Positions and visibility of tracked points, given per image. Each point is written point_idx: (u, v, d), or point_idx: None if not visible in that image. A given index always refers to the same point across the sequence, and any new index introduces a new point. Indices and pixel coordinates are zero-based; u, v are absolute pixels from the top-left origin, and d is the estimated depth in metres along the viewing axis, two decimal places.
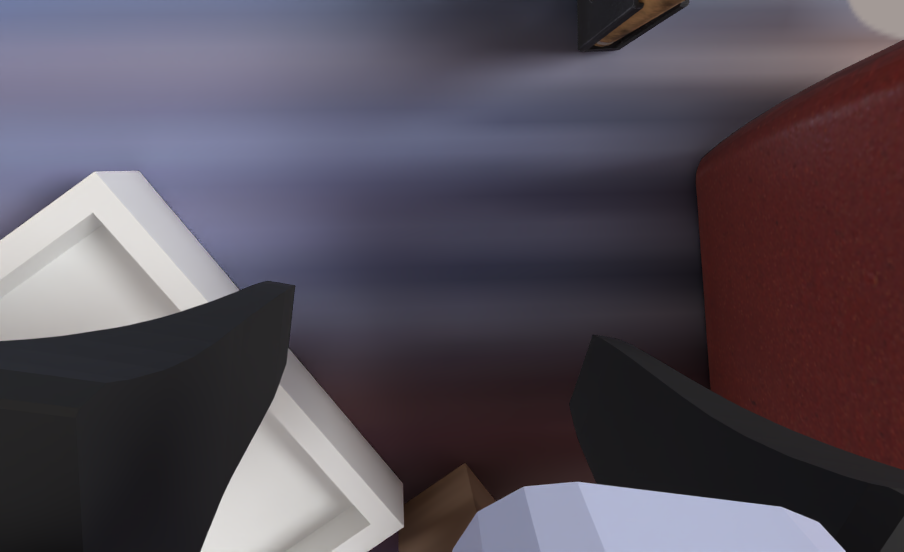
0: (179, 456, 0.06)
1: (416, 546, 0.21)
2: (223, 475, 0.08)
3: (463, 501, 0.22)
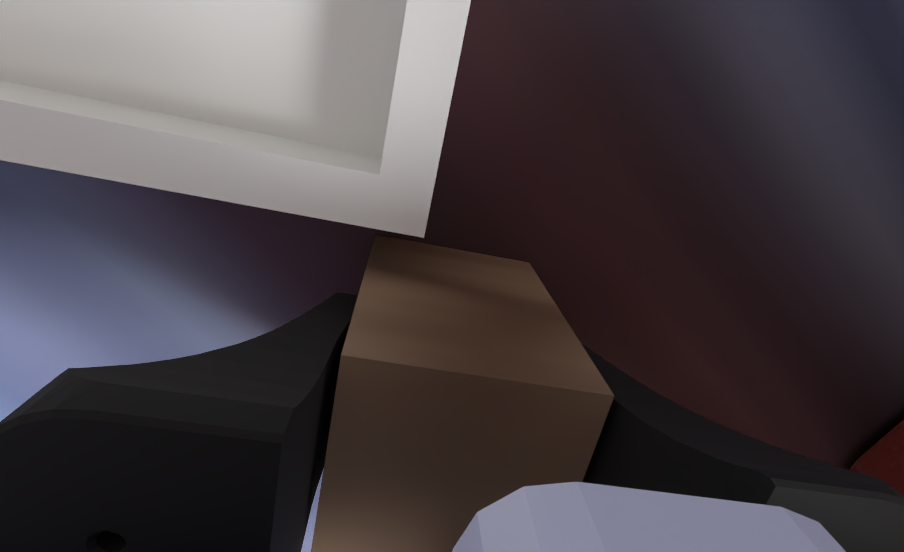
0: (304, 471, 0.06)
1: (410, 289, 0.10)
2: (314, 486, 0.09)
3: (531, 297, 0.11)
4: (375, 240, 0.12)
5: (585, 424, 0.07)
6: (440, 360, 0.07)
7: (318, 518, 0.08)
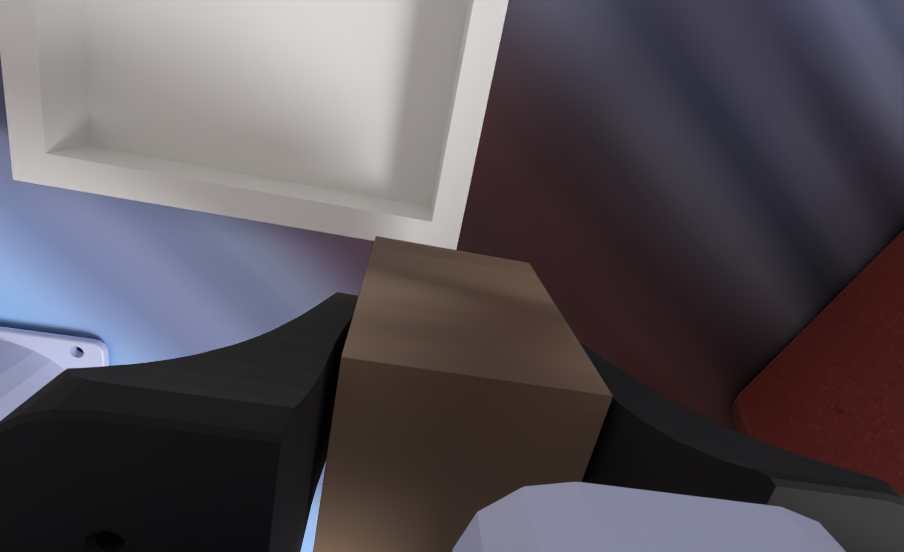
0: (304, 471, 0.06)
1: (410, 291, 0.10)
2: (314, 486, 0.09)
3: (531, 297, 0.11)
4: (375, 242, 0.12)
5: (584, 424, 0.08)
6: (439, 361, 0.07)
7: (320, 518, 0.08)
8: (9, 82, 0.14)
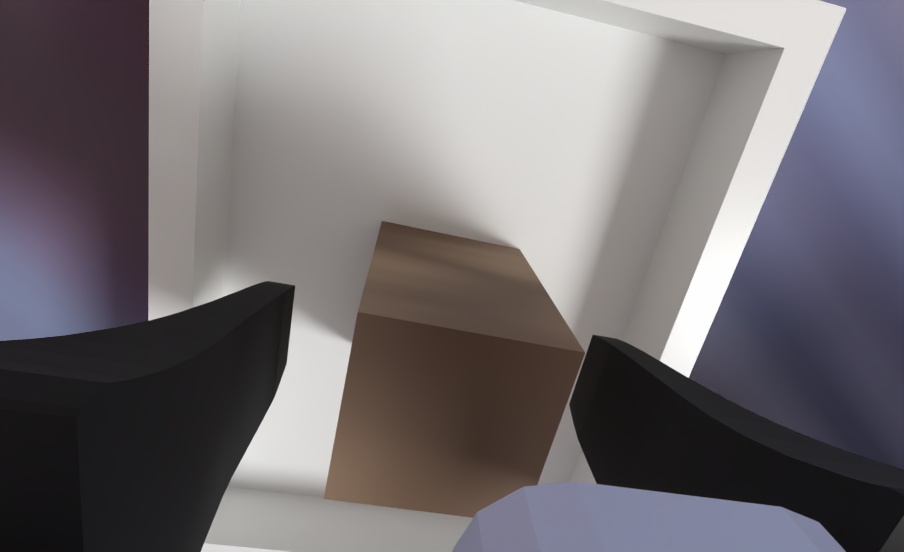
0: (179, 456, 0.06)
1: (414, 266, 0.11)
2: (223, 475, 0.08)
3: (520, 276, 0.12)
4: (382, 225, 0.13)
5: (560, 376, 0.09)
6: (439, 319, 0.09)
7: (333, 454, 0.09)
8: None
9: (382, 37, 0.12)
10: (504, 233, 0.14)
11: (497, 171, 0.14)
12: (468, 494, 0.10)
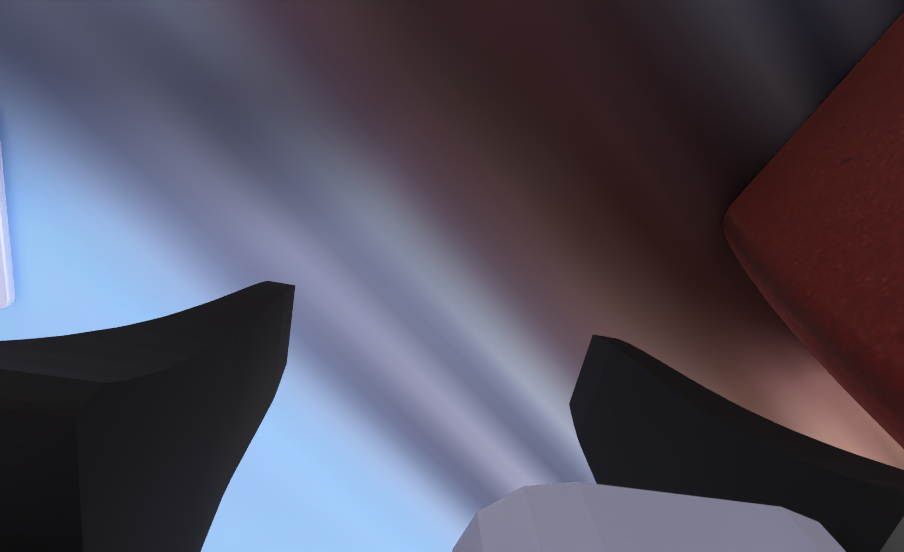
0: (179, 456, 0.06)
1: None
2: (223, 475, 0.08)
3: None
4: None
5: None
6: None
7: None
8: None
9: None
10: None
11: None
12: None
